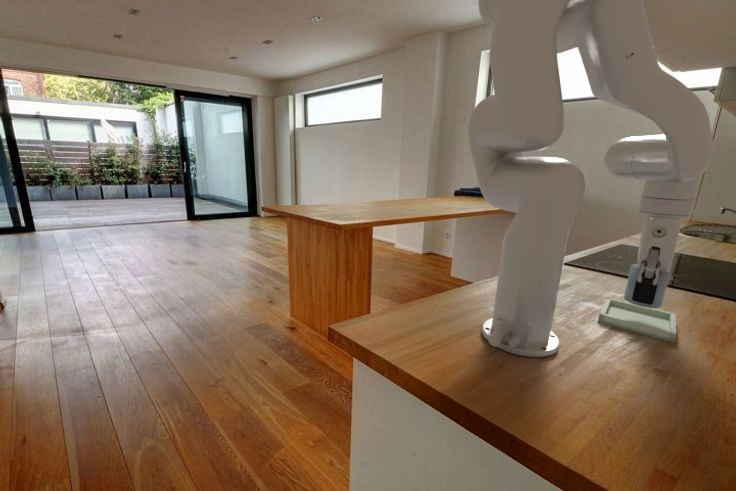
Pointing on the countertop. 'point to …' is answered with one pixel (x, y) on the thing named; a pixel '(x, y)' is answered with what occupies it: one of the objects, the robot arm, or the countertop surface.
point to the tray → (639, 319)
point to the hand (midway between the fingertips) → (643, 296)
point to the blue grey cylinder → (661, 283)
